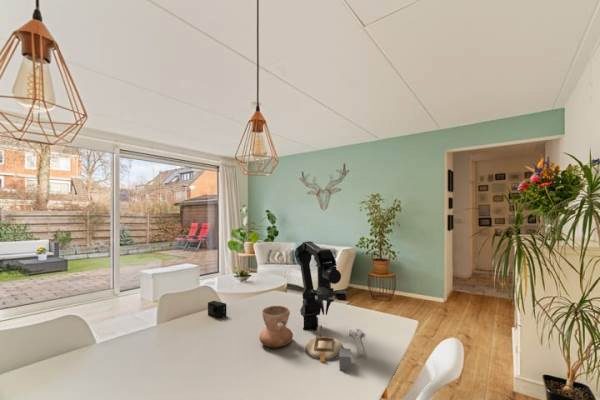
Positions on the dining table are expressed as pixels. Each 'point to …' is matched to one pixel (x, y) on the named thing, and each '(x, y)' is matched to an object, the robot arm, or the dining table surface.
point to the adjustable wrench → (358, 342)
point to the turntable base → (321, 357)
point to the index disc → (323, 346)
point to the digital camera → (217, 309)
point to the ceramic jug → (276, 327)
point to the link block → (345, 359)
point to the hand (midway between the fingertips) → (325, 314)
